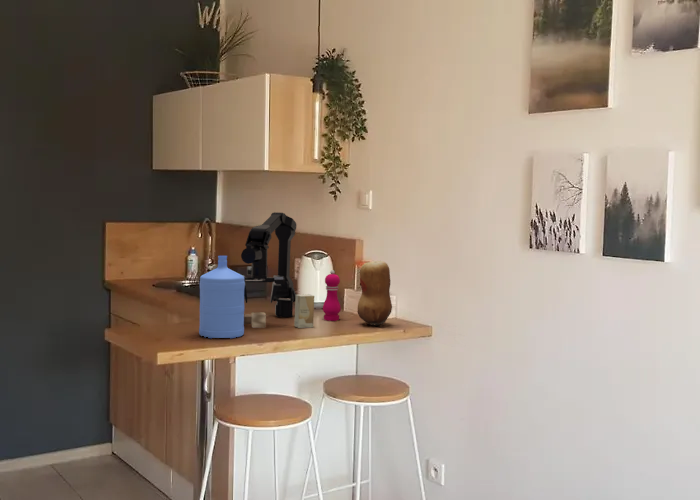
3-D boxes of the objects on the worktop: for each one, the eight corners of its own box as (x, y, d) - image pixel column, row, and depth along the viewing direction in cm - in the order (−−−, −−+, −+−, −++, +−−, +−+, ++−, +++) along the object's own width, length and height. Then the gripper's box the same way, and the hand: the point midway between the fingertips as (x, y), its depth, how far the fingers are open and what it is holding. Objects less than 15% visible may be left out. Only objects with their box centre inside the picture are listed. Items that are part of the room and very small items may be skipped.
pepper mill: (344, 319, 315) (345, 270, 314) (331, 321, 310) (332, 271, 308) (331, 317, 320) (332, 268, 319) (318, 319, 315) (319, 269, 313)
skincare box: (298, 328, 294) (299, 296, 293) (293, 326, 298) (294, 294, 297) (314, 327, 297) (314, 295, 296) (309, 325, 301) (310, 293, 300)
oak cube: (264, 325, 299) (264, 312, 299) (265, 327, 294) (265, 314, 294) (251, 325, 298) (251, 312, 298) (252, 327, 293) (252, 314, 293)
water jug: (251, 337, 275) (252, 257, 272) (209, 340, 266) (210, 258, 264) (232, 329, 288) (233, 253, 285) (192, 333, 279) (192, 254, 277)
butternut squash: (352, 322, 309) (353, 259, 307) (383, 321, 314) (385, 259, 312) (365, 328, 296) (367, 262, 294) (397, 327, 301) (399, 262, 299)
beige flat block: (252, 321, 308) (252, 314, 308) (253, 324, 301) (254, 317, 301) (234, 321, 307) (234, 314, 306) (235, 324, 300) (235, 317, 300)
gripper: (282, 259, 304) (281, 299, 305) (233, 259, 300) (233, 299, 302) (285, 262, 293) (284, 303, 294) (234, 262, 289) (234, 304, 291)
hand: (258, 302), depth 295 cm, fingers open, 9 cm apart
